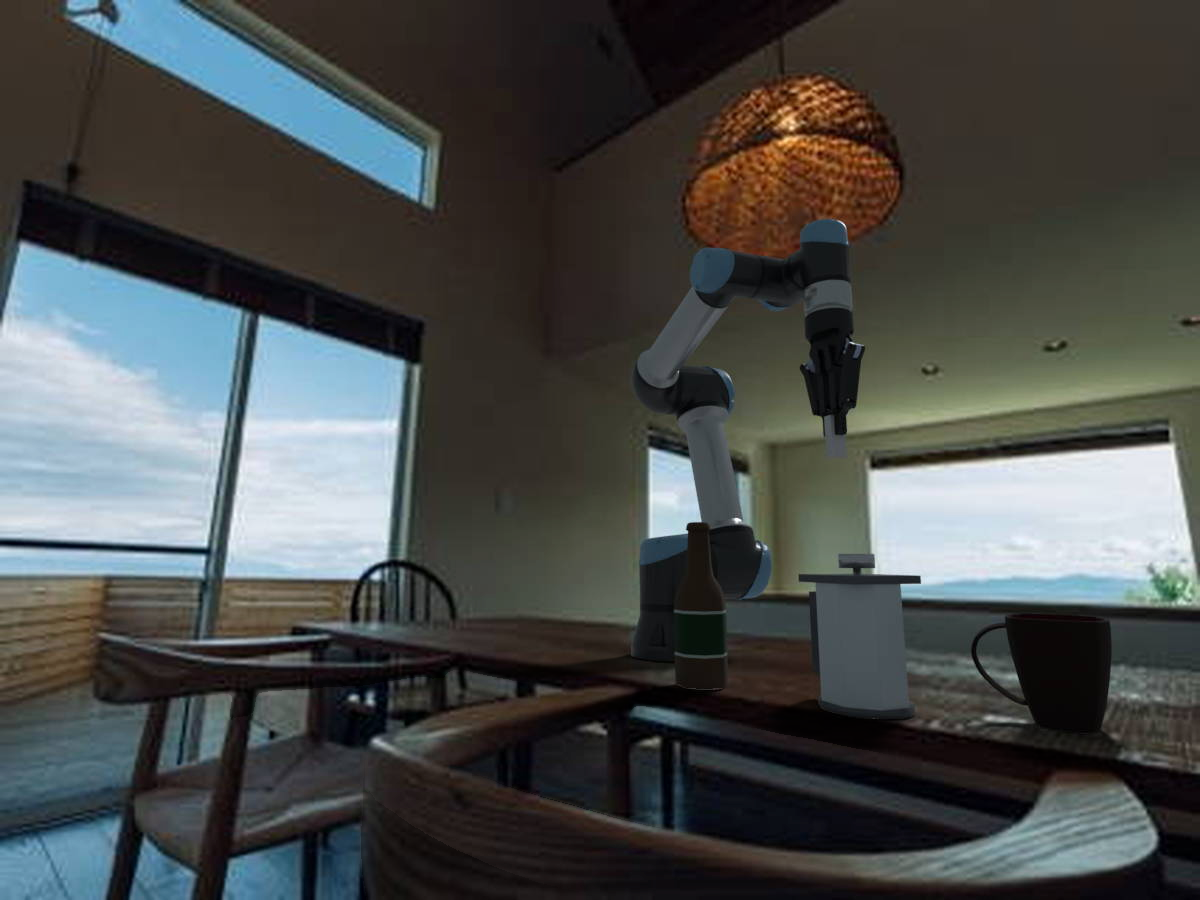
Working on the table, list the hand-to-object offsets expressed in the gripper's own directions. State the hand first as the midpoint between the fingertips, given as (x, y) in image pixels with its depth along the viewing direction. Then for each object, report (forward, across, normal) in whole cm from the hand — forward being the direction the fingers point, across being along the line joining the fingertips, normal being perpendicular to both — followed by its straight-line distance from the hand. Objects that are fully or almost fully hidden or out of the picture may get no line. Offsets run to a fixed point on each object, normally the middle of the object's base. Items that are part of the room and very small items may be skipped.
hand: (836, 456), depth 102 cm
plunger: (+24, +13, -9) cm, 29 cm away
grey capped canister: (+34, +11, -9) cm, 37 cm away
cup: (+35, +26, +5) cm, 44 cm away
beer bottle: (+35, -7, -21) cm, 41 cm away
